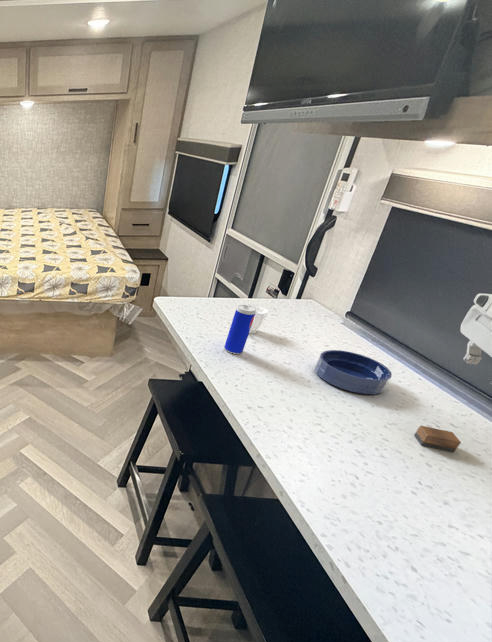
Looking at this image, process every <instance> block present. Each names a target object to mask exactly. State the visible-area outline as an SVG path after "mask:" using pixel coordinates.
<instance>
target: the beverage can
mask: <svg viewBox="0 0 492 642" xmlns="http://www.w3.org/2000/svg"><path fill="white" fill-rule="evenodd" d="M248 305H249V304H248ZM248 305H247V304H239V305H238V306H236V309H235V312H234V314H233V318H232V321H231V324H230V327H229V330H228V333H227V337H226V340H225V342H224V350H225V351H226V352H227V351H228V352H227V353H229V352H230V353H229V354H232V353H233V354H232V355H240V354H242V353H243V352H244V349H245V347H246V343H247V340H248V338H249V334H250V333H249V332H250V329H251V326H252V323H253V320H254V317H255V314H256V309H255V308H254V307H252V306H248Z"/></svg>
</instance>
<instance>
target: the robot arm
mask: <svg viewBox="0 0 492 642" xmlns="http://www.w3.org/2000/svg"><path fill="white" fill-rule="evenodd" d="M473 303H474V304H473V305H471V307H470V308H469V310H468V311H467V313H466V315H465V316H464V318H463V320H462V322H461V324H460V330H459V331H460V333H461V334H462V335H463V336H465V337H466V338H467V339H468V340H469V341H468V342H467V344H466V345H467V346H466V354H465V355H464V357H463V361H465V362H466V363H467V364H469V365H473V366H475V365H479V364H480V362H481V361H482V359H483V357H482V356H481V355H482V352H484V353H485V354H487V355H488V356H490V358H492V293H477V294H476V295H475V297H474V299H473ZM489 383H490V384H491V385H492V380H491V381H490V382H489Z"/></svg>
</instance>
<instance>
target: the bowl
mask: <svg viewBox="0 0 492 642" xmlns="http://www.w3.org/2000/svg"><path fill="white" fill-rule="evenodd" d="M319 354H320V355H319V357H318V359H317V361H316V364H315V365H314V371H315V373H316V375H317V376H318V377H320V378H321V379H322V380H324V381H325V382H327V383H328V384H330V385H333V386H334V387H336V388H339V389H342V390H346V391H349V392H353V393H358V394H362V395H376V394H381V393H382V392H384V391H385V390H386V388H387V386H388V385H389V382H390V381H391V379H392V376H393V375H392V371H391V370H390V369H389V368H388V367H387V366H385V365H384V364H383V363H381V362H380V361H377V360H375V359H373V358H371V357H369V356H367V355H363V354H359V353H357V352H356V353H355V352H353V351H347V350H340V349H339V350H338V349H330V350H324V351H323V352H321V353H319Z"/></svg>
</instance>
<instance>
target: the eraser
mask: <svg viewBox="0 0 492 642" xmlns="http://www.w3.org/2000/svg"><path fill="white" fill-rule="evenodd" d="M413 436H414V437H415V439H416V440H417V442H418V443H419V445H420V446H422V447H427V448H431V449H436V450H441V451H445V452H450V453H455V451H457V449H458V447H459V446H460V445H461V444H462V442H461V441H460V439H459V438H458V436H456V435H455V433H454V432H453V431H449V430H444V429H439V428H436V427H435V428H434V427H430V426H425V425H420V426H419V427H418V429H416V432H415V433H414V434H413Z"/></svg>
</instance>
